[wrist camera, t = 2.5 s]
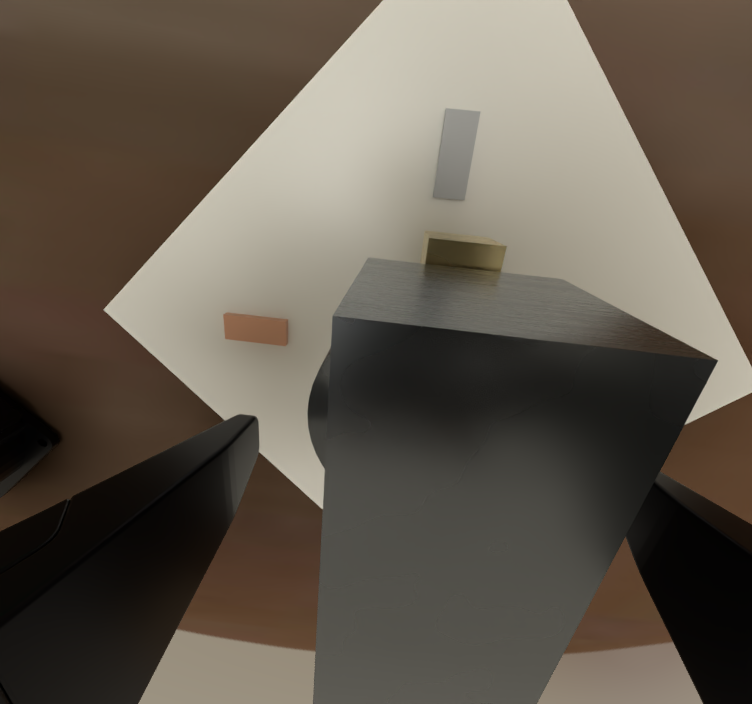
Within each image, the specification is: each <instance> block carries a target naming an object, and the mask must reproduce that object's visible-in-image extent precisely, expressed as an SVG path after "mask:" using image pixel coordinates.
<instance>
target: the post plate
mask: <svg viewBox="0 0 752 704" xmlns="http://www.w3.org/2000/svg"><path fill="white" fill-rule="evenodd" d="M425 231H434V232H444V233H453V234H462V235H471V236H481V237H489V238H491V239H493V240H495V241H497V242H499V243H501V244H503V245H505V246H507V248H506V252H505V256H504V260H503V265H502V269H501V272H503V273H512V274H521V275H530V276H539V277H548V278H557V279H563V280H565V281H567V282H569V283H571V284H573V285H575V286H576V287H578V288H580V289H582V290H584V291H586V292H588V293H590V294H592V295H594V296H596V297H598V298H599V299H601V300H603V301H605V302H607V303H609V304H611V305H613V306H615V307H617V308H619V309H621V310H622V311H624V312H626V313H628V314H630V315H632V316H634V317H636V318H638V319H640V320H642V321H644V322H645V323H647V324H649V325H651V326H653V327H655V328H657V329H659V330H661V331H663V332H665V333H667V334H668V335H670V336H672V337H674V338H676V339H678V340H680V341H682V342H684V343H686V344H688V345H689V346H691V347H693V348H695V349H697V350H699V351H701V352H703V353H705V354H707V355H709V356H711V357H712V358H714V359H716V360H718V362H717V364H716V366H715V368H714V370H713V372H712V373H711V375H710V377H709V379H708V381H707V383H706V385H705V387H704V389H703V390H702V392H701V394H700V396H699V398H698V400H697V402H696V404H695V406H694V408H693V409H692V411H691V413H690V415H689V417H688V419H687V421H686V423H685V424H688V423H690V422H692V421H694V420H696V419H698V418H700V417H702V416H704V415H706V414H708V413H710V412H712V411H714V410H716V409H719V408H721V407H723V406H725V405H727V404H729V403H731V402H733V401H735V400H737V399H739V398H741V397H743V396H745V395H747V394H749V393H752V367H751V365H750V363H749V361H748V359H747V357H746V355H745V353H744V351H743V349H742V347H741V345H740V343H739V341H738V339H737V337H736V335H735V333H734V331H733V329H732V327H731V325H730V323H729V321H728V319H727V317H726V315H725V313H724V311H723V309H722V307H721V305H720V303H719V301H718V299H717V297H716V295H715V293H714V291H713V289H712V287H711V285H710V283H709V281H708V279H707V277H706V275H705V273H704V271H703V269H702V267H701V265H700V263H699V261H698V259H697V257H696V255H695V254H694V252H693V250H692V248H691V246H690V244H689V242H688V240H687V238H686V236H685V234H684V232H683V230H682V228H681V226H680V224H679V222H678V220H677V218H676V216H675V214H674V212H673V210H672V208H671V206H670V204H669V202H668V200H667V198H666V196H665V194H664V192H663V190H662V188H661V186H660V184H659V182H658V180H657V178H656V176H655V174H654V172H653V170H652V168H651V166H650V164H649V162H648V160H647V158H646V156H645V154H644V152H643V150H642V148H641V146H640V144H639V142H638V140H637V138H636V136H635V134H634V132H633V130H632V128H631V126H630V124H629V122H628V120H627V118H626V116H625V114H624V112H623V110H622V108H621V106H620V104H619V102H618V100H617V98H616V96H615V94H614V92H613V90H612V88H611V86H610V84H609V82H608V80H607V78H606V76H605V75H604V73H603V71H602V69H601V67H600V65H599V63H598V61H597V59H596V57H595V55H594V53H593V51H592V49H591V47H590V45H589V43H588V41H587V39H586V37H585V35H584V33H583V31H582V29H581V27H580V25H579V23H578V21H577V19H576V17H575V15H574V13H573V11H572V9H571V7H570V5H569V3H568V1H567V0H383V1H382V2H381V3H380V4H379V5H378V7H377V8H376V9H375V10H374V11H373V12H372V13H371V14H370V15H369V17H368V18H367V19H366V20H365V21H364V22H363V23H362V24H361V25H360V26H359V28H358V29H357V30H356V31H355V32H354V33H353V34H352V35H351V36H350V38H349V39H348V40H347V41H346V42H345V43H344V44H343V45H342V46H341V48H340V49H339V50H338V51H337V52H336V53H335V54H334V55H333V56H332V57H331V59H330V60H329V61H328V62H327V63H326V64H325V65H324V66H323V67H322V69H321V70H320V71H319V72H318V73H317V74H316V75H315V76H314V77H313V78H312V80H311V81H310V82H309V83H308V84H307V85H306V86H305V87H304V88H303V90H302V91H301V92H300V93H299V94H298V95H297V96H296V97H295V98H294V100H293V101H292V102H291V103H290V104H289V105H288V106H287V107H286V108H285V109H284V111H283V112H282V113H281V114H280V115H279V116H278V117H277V118H276V119H275V121H274V122H273V123H272V124H271V125H270V126H269V127H268V128H267V129H266V130H265V132H264V133H263V134H262V135H261V136H260V137H259V138H258V139H257V140H256V142H255V143H254V144H253V145H252V146H251V147H250V148H249V149H248V150H247V152H246V153H245V154H244V155H243V156H242V157H241V158H240V159H239V160H238V161H237V163H236V164H235V165H234V166H233V167H232V168H231V169H230V170H229V171H228V173H227V174H226V175H225V176H224V177H223V178H222V179H221V180H220V181H219V183H218V184H217V185H216V186H215V187H214V188H213V189H212V190H211V191H210V192H209V194H208V195H207V196H206V197H205V198H204V199H203V200H202V201H201V202H200V204H199V205H198V206H197V207H196V208H195V209H194V210H193V211H192V212H191V213H190V215H189V216H188V217H187V218H186V219H185V220H184V221H183V222H182V223H181V225H180V226H179V227H178V228H177V229H176V230H175V231H174V232H173V233H172V235H171V236H170V237H169V238H168V239H167V240H166V241H165V242H164V243H163V244H162V246H161V247H160V248H159V249H158V250H157V251H156V252H155V253H154V254H153V256H152V257H151V258H150V259H149V260H148V261H147V262H146V263H145V264H144V265H143V267H142V268H141V269H140V270H139V271H138V272H137V273H136V274H135V275H134V277H133V278H132V279H131V280H130V281H129V282H128V283H127V284H126V285H125V287H124V288H123V289H122V290H121V291H120V292H119V293H118V294H117V295H116V296H115V298H114V299H113V300H112V301H111V302H110V303H109V304H108V305H107V306H106V308H105V309H104V311H105V312H106V313H108V314H109V315H110V316H111V317H112V318H113V319H114V320H115V321H116V322H117V323H118V324H120V325H121V326H122V327H123V328H124V329H125V330H126V331H127V332H128V333H129V334H131V335H132V336H133V337H134V338H135V339H136V340H137V341H138V342H139V343H140V344H142V345H143V346H144V347H145V348H146V349H147V350H148V351H149V352H150V353H151V354H153V355H154V356H155V357H156V358H157V359H158V360H159V361H160V362H161V363H162V364H163V365H165V366H166V367H167V368H168V369H169V370H170V371H171V372H172V373H173V374H174V375H176V376H177V377H178V378H179V379H180V380H181V381H182V382H183V383H184V384H185V385H187V386H188V387H189V388H190V389H191V390H192V391H193V392H194V393H195V394H196V395H197V396H199V397H200V398H201V399H202V400H203V401H204V402H205V403H206V404H207V405H208V406H210V407H211V408H212V409H213V410H214V411H215V412H216V413H217V414H218V415H219V416H221V417H222V418H223V419H224V420H227V419H230V418H232V417H234V416H236V415H238V414H245V415H253V416H256V417H257V418H258V422H259V452H260V453H261V454H262V455H263V456H264V457H266V458H267V459H268V460H269V461H270V462H271V463H272V464H273V465H274V466H275V467H276V468H278V469H279V470H280V471H281V472H282V473H283V474H284V475H285V476H286V477H287V478H289V479H290V480H291V481H292V482H293V483H294V484H295V485H296V486H297V487H298V488H300V489H301V490H302V491H303V492H304V493H305V494H306V495H307V496H308V497H309V498H310V499H312V500H313V501H314V502H315V503H316V504H317V505H318V506H319V507H320V508H321V509H323V496H324V476H325V468H324V467H323V466H322V464H321V462H320V460H319V458H318V456H317V455H316V453H315V450H314V447H313V444H312V442H311V438H310V433H309V428H308V415H307V412H308V402H309V396H310V392H311V389H312V385H313V382H314V380H315V378H316V376H317V373H318V371H319V369H320V367H321V365H322V363H323V361H324V359H325V357H326V355H327V353H328V351H329V349H330V347H331V337H332V317H333V314H334V313H335V311H336V309H337V308H338V306H339V304H340V303H341V301H342V299H343V298H344V296H345V295H346V293H347V291H348V290H349V288H350V286H351V285H352V283H353V282H354V280H355V278H356V277H357V275H358V273H359V272H360V270H361V269H362V267H363V265H364V264H365V262H366V260H367V259H368V258H377V259H386V260H395V261H404V262H413V263H420V259H421V252H422V246H423V239H424V232H425Z"/></svg>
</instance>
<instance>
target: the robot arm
mask: <svg viewBox="0 0 752 704" xmlns="http://www.w3.org/2000/svg"><path fill="white" fill-rule="evenodd" d="M58 443H59V438H58V436H57V435H56V434H55V433H54V432H53V431H51V430H50V429H49V428H47V427H46V426H45V425H43V424H42V423H41V422H40V421H38V420H37V419H36V418H34V417H33V416H32V415H30V414H29V413H28V412H27V411H25V410H24V409H23V408H21V407H20V406H19V405H18V404H16V403H15V402H14V401H12V400H11V399H10V398H8V397H7V396H6V395H5V394H3V393H2V392H1V391H0V497H2V496H4V495H5V494H6V493H8V492H9V491H10V490H11V489H12V488H13V487H14V486H15V485H16V484H17V483H18V482H19V481H20V480H21V479H22V478H23V477H25V476H26V475H27V474H28V473H29V472H30V471H31V470H32V469H33V468H34V467H35V466H36V465H37V464H38V463H39V462H40V461H41V460H42V459H43V458H44V457H45V456H46V455H47V454H48V453H49V452H50V451H51V450H52V449H54V448H55V447H56V446H57V445H58ZM258 453H259V422H258V418H257V417H256V416H253V415H245V414H238V415H236V416H234V417H232V418H230V419H227V420H225V421H223V422H221V423H219V424H217V425H215V426H213V427H211V428H209V429H207V430H205V431H203V432H201V433H199V434H197V435H195V436H193V437H191V438H189V439H187V440H185V441H183V442H181V443H179V444H177V445H175V446H173V447H171V448H169V449H167V450H165V451H163V452H161V453H159V454H157V455H155V456H153V457H151V458H149V459H147V460H145V461H143V462H141V463H139V464H137V465H135V466H133V467H131V468H129V469H127V470H125V471H123V472H121V473H119V474H117V475H115V476H113V477H111V478H109V479H107V480H105V481H103V482H101V483H99V484H96V485H94V486H92V487H90V488H88V489H86V490H84V491H82V492H80V493H78V494H76V495H74V496H73V497H72V498H71V500H69V499H66V500H64V501H62V502H60V503H58V504H56V505H54V506H52V507H50V508H48V509H46V510H44V511H42V512H40V513H38V514H36V515H34V516H31V517H29V518H27V519H25V520H23V521H21V522H19V523H17V524H15V525H13V526H11V527H9V528H6V529H4V530H2V531H0V704H138V703H139V701H140V699H141V697H142V695H143V693H144V691H145V689H146V687H147V686H148V684H149V682H150V680H151V678H152V676H153V674H154V672H155V670H156V668H157V666H158V664H159V662H160V660H161V658H162V656H163V655H164V652H165V650H166V649H167V647H168V645H169V643H170V641H171V639H172V637H173V635H174V633H175V631H176V629H177V627H178V625H179V623H180V622H181V620H182V618H183V616H184V614H185V612H186V610H187V608H188V606H189V604H190V602H191V600H192V598H193V596H194V594H195V592H196V591H197V589H198V587H199V585H200V583H201V581H202V579H203V577H204V575H205V573H206V571H207V569H208V567H209V565H210V563H211V561H212V559H213V558H214V556H215V554H216V552H217V550H218V548H219V546H220V544H221V542H222V540H223V538H224V536H225V534H226V532H227V530H228V528H229V526H230V524H231V522H232V520H233V518H234V516H235V513H236V511H237V508H238V506H239V503H240V501H241V498H242V495H243V493H244V490H245V488H246V485H247V482H248V480H249V477H250V475H251V472H252V469H253V467H254V464H255V462H256V459H257V456H258ZM626 539H627V542H628V544H629V547H630V550H631V552H632V555H633V557H634V560H635V562H636V565H637V567H638V570H639V572H640V574H641V577H642V579H643V581H644V583H645V585H646V587H647V589H648V591H649V593H650V596H651V598H652V600H653V602H654V604H655V606H656V608H657V610H658V612H659V614H660V616H661V618H662V620H663V622H664V624H665V626H666V628H667V630H668V632H669V634H670V637H671V639H672V641H673V643H674V645H675V647H676V649H677V651H678V653H679V655H680V657H681V659H682V661H683V663H684V665H685V667H686V669H687V671H688V673H689V675H690V677H691V679H692V682H693V684H694V686H695V688H696V690H697V692H698V694H699V696H700V698H701V700H702V702H703V704H752V525H751V524H750V523H748V522H746V521H744V520H743V519H741V518H739V517H737V516H736V515H734V514H732V513H731V512H729V511H727V510H725V509H724V508H722V507H720V506H718V505H717V504H715V503H713V502H712V501H710V500H708V499H706V498H705V497H703V496H701V495H699V494H698V493H696V492H694V491H692V490H691V489H689V488H687V487H686V486H684V485H682V484H680V483H679V482H677V481H675V480H673V479H672V478H670V477H668V476H667V475H665V474H663V473H661V472H659V474H658V476H657V477H656V479H655V481H654V483H653V485H652V487H651V489H650V491H649V493H648V494H647V496H646V498H645V500H644V502H643V504H642V506H641V508H640V510H639V511H638V513H637V515H636V517H635V519H634V521H633V523H632V525H631V527H630V528H629V530H628V532H627V534H626Z"/></svg>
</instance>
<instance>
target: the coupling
mask: <svg viewBox="0 0 752 704" xmlns="http://www.w3.org/2000/svg"><path fill="white" fill-rule="evenodd" d="M506 248H507V246H505V245H503V244H501V243H499V242H497V241H495V240H493V239H491V238H489V237H481V236H471V235H462V234H453V233H444V232H434V231H425V232H424V239H423V246H422V252H421V259H420V263H413V262H404V261H395V260H386V259H377V258H368V259H367V260H366V262H365V264H364V265H363V267H362V269H361V270H360V272H359V273H358V275H357V277H356V278H355V280H354V282H353V283H352V285H351V286H350V288H349V290H348V291H347V293H346V295H345V296H344V298H343V299H342V301H341V303H340V304H339V306H338V308H337V309H336V311H335V313H334V314H333V317H332V337H331V347H330V349H329V351H328V353H327V355H326V357H325V359H324V361H323V363H322V365H321V367H320V369H319V371H318V373H317V376H316V378H315V380H314V382H313V385H312V389H311V392H310V396H309V402H308V412H307V415H308V428H309V433H310V438H311V442H312V444H313V447H314V450H315V453H316V455H317V456H318V458H319V460H320V462H321V464H322V466H323V467H324V468H325V476H324V496H323V516H322V535H321V555H320V575H319V595H318V615H317V635H316V655H315V676H314V695H313V704H537V702H538V700H539V699H540V697H541V695H542V693H543V691H544V689H545V687H546V685H547V683H548V682H549V679H550V678H551V675H552V674H553V672H554V670H555V668H556V666H557V665H558V662H559V661H560V659H561V657H562V655H563V653H564V651H565V649H566V648H567V646H568V644H569V642H570V640H571V638H572V636H573V634H574V632H575V630H576V629H577V627H578V625H579V623H580V621H581V619H582V617H583V615H584V613H585V612H586V610H587V608H588V606H589V604H590V602H591V600H592V598H593V596H594V595H595V593H596V591H597V589H598V587H599V585H600V583H601V581H602V579H603V578H604V576H605V574H606V572H607V570H608V568H609V566H610V564H611V562H612V561H613V559H614V557H615V555H616V553H617V551H618V549H619V547H620V545H621V544H622V542H623V540H624V538H625V536H626V534H627V532H628V530H629V528H630V527H631V525H632V523H633V521H634V519H635V517H636V515H637V513H638V511H639V510H640V508H641V506H642V504H643V502H644V500H645V498H646V496H647V494H648V493H649V491H650V489H651V487H652V485H653V483H654V481H655V479H656V477H657V476H658V474H659V472H660V470H661V468H662V466H663V464H664V462H665V460H666V459H667V457H668V455H669V453H670V451H671V449H672V447H673V445H674V443H675V442H676V440H677V438H678V436H679V434H680V432H681V430H682V428H683V426H684V425H685V423H686V421H687V419H688V417H689V415H690V413H691V411H692V409H693V408H694V406H695V404H696V402H697V400H698V398H699V396H700V394H701V392H702V390H703V389H704V387H705V385H706V383H707V381H708V379H709V377H710V375H711V373H712V372H713V370H714V368H715V366H716V364H717V362H718V360H716V359H714V358H712V357H711V356H709V355H707V354H705V353H703V352H701V351H699V350H697V349H695V348H693V347H691V346H689V345H688V344H686V343H684V342H682V341H680V340H678V339H676V338H674V337H672V336H670V335H668V334H667V333H665V332H663V331H661V330H659V329H657V328H655V327H653V326H651V325H649V324H647V323H645V322H644V321H642V320H640V319H638V318H636V317H634V316H632V315H630V314H628V313H626V312H624V311H622V310H621V309H619V308H617V307H615V306H613V305H611V304H609V303H607V302H605V301H603V300H601V299H599V298H598V297H596V296H594V295H592V294H590V293H588V292H586V291H584V290H582V289H580V288H578V287H576V286H575V285H573V284H571V283H569V282H567V281H565V280H563V279H557V278H548V277H539V276H530V275H521V274H512V273H503V272H501V269H502V265H503V260H504V256H505V252H506Z"/></svg>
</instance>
